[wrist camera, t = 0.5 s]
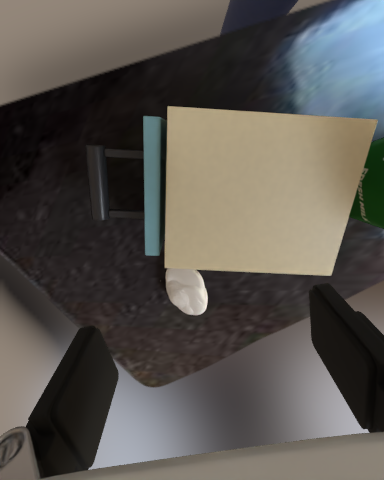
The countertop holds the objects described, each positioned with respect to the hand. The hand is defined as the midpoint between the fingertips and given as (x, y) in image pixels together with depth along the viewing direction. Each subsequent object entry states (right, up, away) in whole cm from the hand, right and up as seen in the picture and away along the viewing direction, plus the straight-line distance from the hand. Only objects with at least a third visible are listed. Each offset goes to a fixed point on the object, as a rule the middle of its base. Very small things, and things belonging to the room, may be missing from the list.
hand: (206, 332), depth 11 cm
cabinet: (+4, +10, +15) cm, 19 cm away
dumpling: (-1, -1, +20) cm, 20 cm away
